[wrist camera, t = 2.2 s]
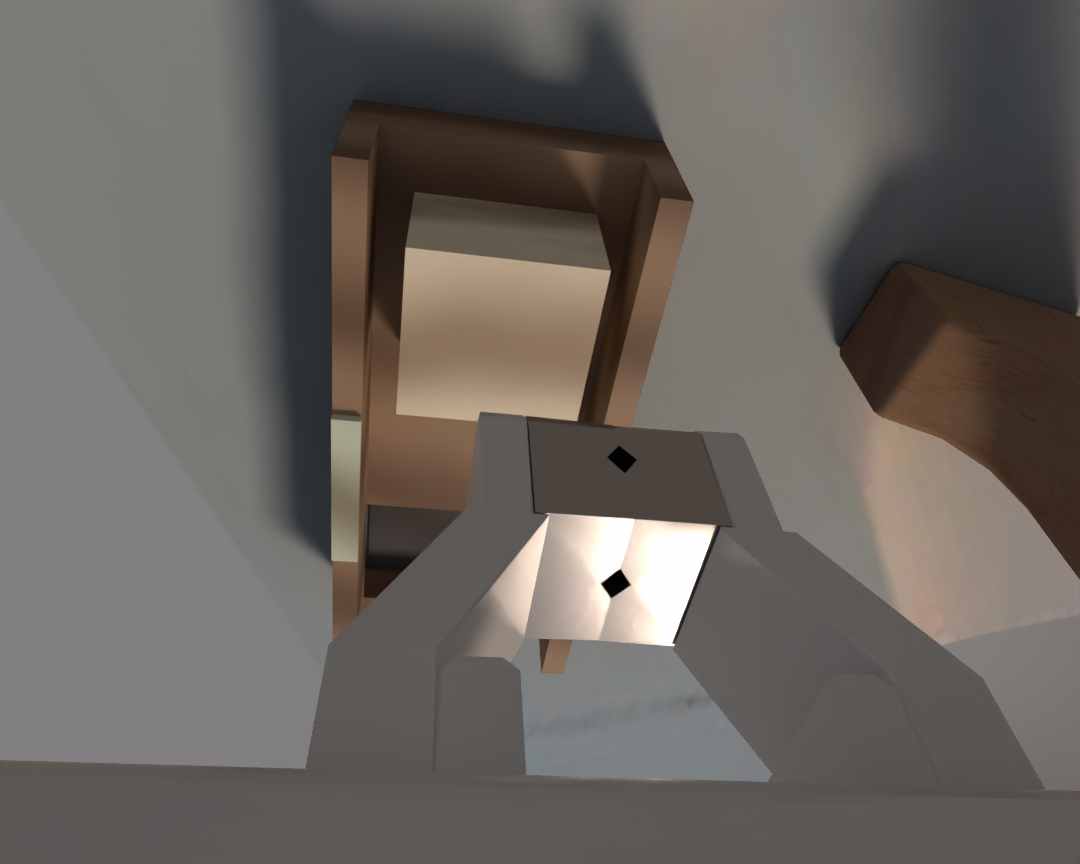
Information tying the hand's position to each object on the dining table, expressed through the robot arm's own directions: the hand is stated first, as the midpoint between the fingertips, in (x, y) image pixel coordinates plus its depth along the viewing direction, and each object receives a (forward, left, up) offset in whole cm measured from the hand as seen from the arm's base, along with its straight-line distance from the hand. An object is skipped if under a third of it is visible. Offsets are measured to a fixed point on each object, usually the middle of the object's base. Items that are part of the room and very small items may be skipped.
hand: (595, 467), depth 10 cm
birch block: (+8, 0, -19) cm, 20 cm away
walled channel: (+14, 0, -21) cm, 25 cm away
